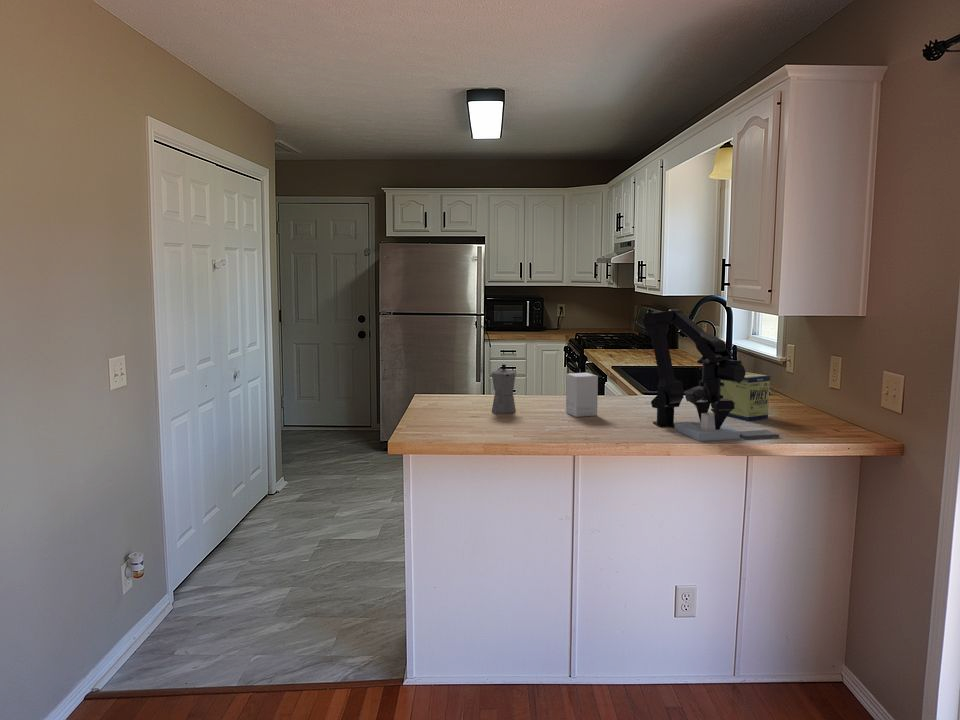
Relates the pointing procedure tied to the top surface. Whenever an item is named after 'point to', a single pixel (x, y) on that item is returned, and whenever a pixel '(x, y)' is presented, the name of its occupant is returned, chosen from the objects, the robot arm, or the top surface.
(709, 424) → the charger
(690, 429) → the plate
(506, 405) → the coffeepot
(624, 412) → the top surface
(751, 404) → the protein box
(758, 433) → the phone
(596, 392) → the supplement box
